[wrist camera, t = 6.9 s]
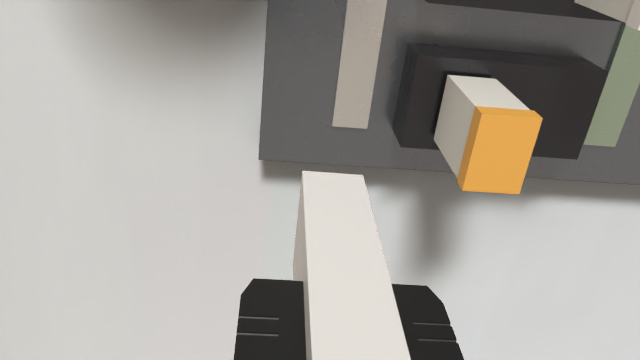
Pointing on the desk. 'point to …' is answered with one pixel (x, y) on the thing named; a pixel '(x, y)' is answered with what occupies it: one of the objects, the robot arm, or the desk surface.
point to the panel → (423, 22)
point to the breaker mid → (617, 10)
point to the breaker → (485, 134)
